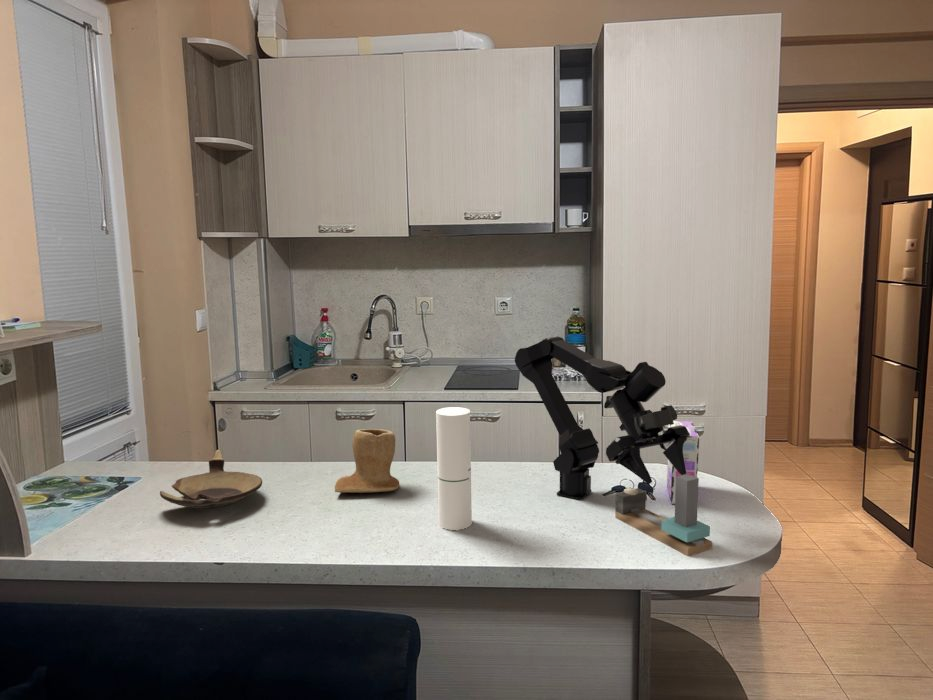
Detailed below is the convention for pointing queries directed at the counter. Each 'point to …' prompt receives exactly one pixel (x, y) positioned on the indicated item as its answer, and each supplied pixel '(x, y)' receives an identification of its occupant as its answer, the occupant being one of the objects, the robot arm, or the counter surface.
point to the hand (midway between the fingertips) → (667, 478)
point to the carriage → (686, 512)
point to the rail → (652, 522)
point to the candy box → (689, 458)
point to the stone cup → (370, 463)
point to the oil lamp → (214, 486)
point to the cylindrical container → (454, 467)
